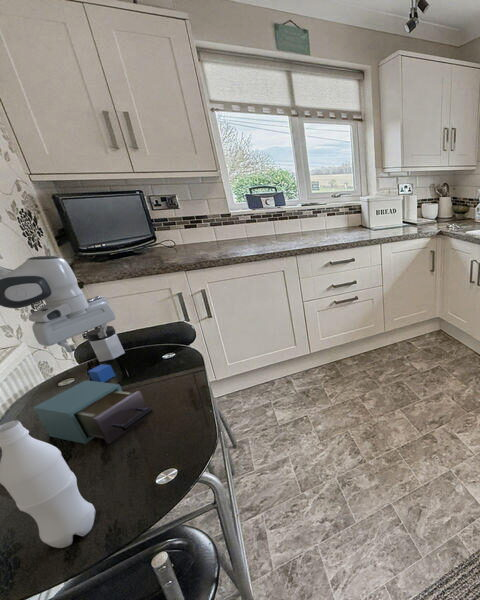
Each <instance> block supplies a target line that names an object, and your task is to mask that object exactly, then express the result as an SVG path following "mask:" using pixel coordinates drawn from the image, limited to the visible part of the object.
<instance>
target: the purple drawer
mask: <svg viewBox="0 0 480 600" xmlns="http://www.w3.org/2000/svg"><path fill="white" fill-rule="evenodd" d="M122 391H123V390H122ZM122 391H115V390H114V391H112V392H111V393H109V394H107V395H105V396H104V397H102V398H100V399H99V400H97V401H95V402H93V403H92V404H90V405H88V406H87V407H85V408H83V409H82V410H80V411H78V412H76V413H75V414H74V416H75V418H76V419H77V421H78V423H79V425H80V427H81V428H82V430H83V432H84V434H85V436H90V437H95V438H94V439H100V440H104V443H105V444H108V445H110V444H112V443H113V442H114V441H115V440H117V439H119V438H120V437H122V436H123V435H124V434H125V433H127V432H128V431H130V430H131V429H133V428H134V427H135V426H137V425H138V424H139V423H141V422H142V421H143V420H145V419H146V418H148V417H149V416H150V415H151V413H152V412H153V408H152V407H148V406H147V403H146V402H145V399H144V397H143V395H142V393H141V391H140V390H136V391H135V392H133V393H132V392H130V391H129V392H128V391H123V392H122Z"/></svg>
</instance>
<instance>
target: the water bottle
mask: <svg viewBox="0 0 480 600" xmlns="http://www.w3.org/2000/svg"><path fill="white" fill-rule="evenodd" d="M29 433H30V431H29V429H27V428H26V427H24V426H23V424H22V423H21V422H20V421H19V420H12V421H11V420H10V421H8V422H5V423H3V424H1V425H0V449H1V458H0V485H2V486H3V487H4V488H5V489H6V491H7V493H8V494H9V495H10V497H11V498H12V499H13V501H14V502H15V505H16V507H17V508H18V510H19V511H20V512H24V513H26V514H28V515H29V516H30V517H32V518H33V520H34V521H35V523H36V524H37V528H38V535H39V538H40V540H41V541H42V542H43V543H44V544H46V545H48V546H50V547H52V548H56V549H64V548H67V547H70V546H71V545H73V541H74V536H75V535H77V536H80V537H85V536H86V535H88V533H90V532H91V530H92V529H93V527H94V522H95V518H96V509H95V506H94V504H93V503H91V502H88V501H87V500H86V499H85V498H83V496H82V495H81V493H80V491H79V488H78V482H77V481H78V480H77V477H76V475H75V473H74V472H73V471H72V470H71V469H70V466H69V465H68V464H67V462H66V460H65V459H64V457H63V455H62V451H61V450H60V449H59V448H58V447H57V446H54V445H53V444H51V443H48V442H46V441H43V440H39V439H37V438H34V437H32V436H31V435H30V434H29Z"/></svg>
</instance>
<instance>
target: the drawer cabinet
mask: <svg viewBox="0 0 480 600" xmlns="http://www.w3.org/2000/svg"><path fill="white" fill-rule="evenodd" d="M114 390H115V391H122V392H124V391H123V389H122V387H121V385H120V384H118V383H111V382H96V381H92V380H89V379H88V380H87V379H85V380H83V381H81V382H79V383H77V384H75V385H73V386H72V387H70V388H68V389H66V390H64V391H62V392H60V393H58V394H56V395H54V396H53V397H50V398H49V399H47V400H44V401H43V402H41V403H39V404H37V405H35V406H32V409H33V410H34V412H35V414H36V416H37V417H38V419H39V420H40V422H41V424H42V425H43V427H44V429H45V430H46V432H47V433H48V435H49V436H50V437H51V438H54V439H55V438H56V439H59V440H66V441H70V442H75V443H80V444H84V445H87V444H88V443H89V442H91V441H92V440H93V439H96V438H95V437H90V436H85V434H84V432H83V430H82V428H81V427H80V425H79V423H78V421H77V419H76V418H75V416H74V414H75V413H76V412H78V411H80V410H82V409H83V408H85V407H87V406H88V405H90V404H92V403H93V402H95V401H97V400H99V399H100V398H102V397H104V396H105V395H107V394H109V393H111V392H112V391H114Z"/></svg>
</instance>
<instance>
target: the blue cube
mask: <svg viewBox="0 0 480 600" xmlns="http://www.w3.org/2000/svg"><path fill="white" fill-rule="evenodd" d="M87 373H88V375H89V377H90V378H91V381H96V382H104V383H106V382H107V381H109V380H111V379H112V377H113V378H115V377H116V374H115V371H114V369H113V366H112V365H111V364H103V363H101V364H99V365H97V366H95V367H93V368H91V369H89V370H87ZM110 378H111V379H110Z"/></svg>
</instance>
